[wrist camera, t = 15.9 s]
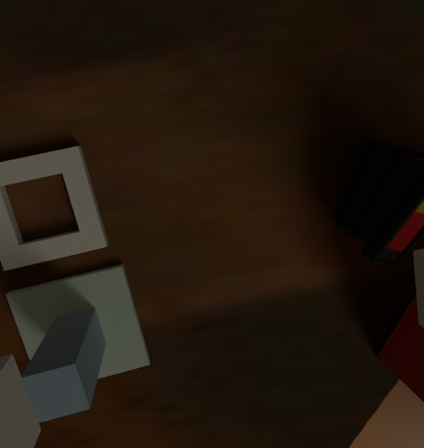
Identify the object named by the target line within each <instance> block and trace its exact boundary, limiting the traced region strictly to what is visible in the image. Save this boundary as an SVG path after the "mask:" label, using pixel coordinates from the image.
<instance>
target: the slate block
mask: <svg viewBox="0 0 424 448" xmlns="http://www.w3.org/2000/svg"><path fill="white" fill-rule="evenodd" d="M105 347H106V340H105V337H104V334H103V331H102V327H101V324H100V321H99V318H98V314H97V311H96V309H92V310H88V311H84V312H80V313H76V314H72V315H68V316H64V317H60V318H56V319H55V320H54V321H53V323H52V325H51V327H50V328H49V330H48V332H47V333H46V335H45V337H44V338H43V340H42V342H41V344H40V345H39V347H38V349H37V350H36V352H35V354H34V355H33V357H32V359H31V361H30V362H29V364H28V366H27V367H26V369H25V371H24V373H23V374H22V376H21V378H22V381H23V383H24V386H25V388H26V391H27V394H28V396H29V399H30V402H31V404H32V407H33V410H34V412H35V415H36V418H37V420H38V423H40V422H43V421H47V420H51V419H54V418H58V417H61V416H65V415H69V414H72V413H76V412H80V411H83V410H87V409H90V406H91V402H92V398H93V394H94V390H95V386H96V383H97V379H98V375H99V371H100V367H101V363H102V359H103V355H104V351H105Z"/></svg>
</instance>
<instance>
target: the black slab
mask: <svg viewBox="0 0 424 448" xmlns="http://www.w3.org/2000/svg"><path fill="white" fill-rule="evenodd" d="M336 221H337V222H338V223H337V225H338V226H341V227H345V228H349V229H352V230H351V232H350V235H351V236H354V237H358V238H360V239H361V240H362V242H363V244H364V245H365V248H364V250H363V251H362V253H363V255H364V257H368V258H372V260H373V262H374V263H377V264H381V265H385V266H389V267H393V268H396V267H398V266H399V265H400V264H401V263H402V261H403V260H404V259H405V258H406V257H407V255H408V254H409V253H410V252H411V251H412V249H413V248H414V247H415V246H416V245H417V243H418V242H419V241H420V240H421V239H422V237H423V236H424V154H423V153H420V152H417V151H414V150H411V149H408V148H405V147H401V146H396V145H393V144H390V143H387V142H383V141H380V140H377V139H370V141H369V142H362V144H361V146H360V149H359V152H358V155H357V158H356V161H355V164H354V167H353V170H352V173H351V176H350V179H349V181H348V184H347V187H346V190H345V193H344V196H343V199H342V202H341V205H340V208H339V211H338V214H337V217H336Z"/></svg>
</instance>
